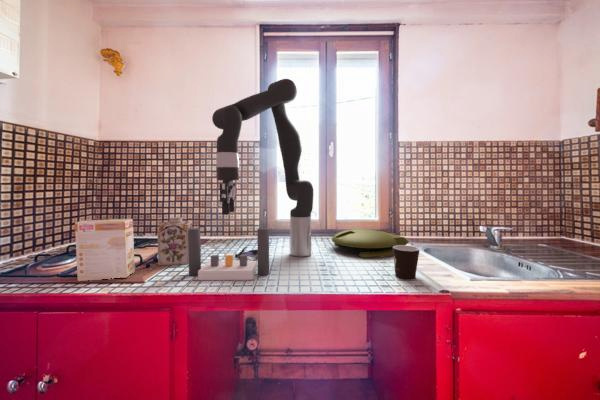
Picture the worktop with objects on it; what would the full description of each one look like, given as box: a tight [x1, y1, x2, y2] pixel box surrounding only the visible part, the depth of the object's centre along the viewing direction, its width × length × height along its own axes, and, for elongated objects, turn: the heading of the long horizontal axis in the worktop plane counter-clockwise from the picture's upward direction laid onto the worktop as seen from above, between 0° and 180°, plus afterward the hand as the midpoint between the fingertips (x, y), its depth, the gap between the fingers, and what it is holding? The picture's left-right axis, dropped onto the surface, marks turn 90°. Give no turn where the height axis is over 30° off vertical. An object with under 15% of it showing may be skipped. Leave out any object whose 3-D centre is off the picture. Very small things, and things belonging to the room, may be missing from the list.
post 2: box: [256, 227, 270, 277], centre depth 100 cm, size 4×4×16 cm
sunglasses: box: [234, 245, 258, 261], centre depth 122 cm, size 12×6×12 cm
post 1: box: [188, 227, 202, 277], centre depth 99 cm, size 4×4×16 cm
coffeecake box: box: [74, 218, 136, 282], centre depth 96 cm, size 15×7×20 cm, turn 100°
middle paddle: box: [224, 254, 234, 266], centre depth 100 cm, size 2×2×4 cm
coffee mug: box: [392, 244, 420, 281], centre depth 98 cm, size 12×9×10 cm
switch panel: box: [197, 254, 258, 281], centre depth 100 cm, size 18×12×7 cm, turn 92°
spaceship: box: [331, 228, 410, 259], centre depth 137 cm, size 35×31×10 cm
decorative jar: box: [156, 216, 195, 266], centre depth 116 cm, size 12×12×18 cm
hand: (228, 213), depth 99 cm, fingers open, 8 cm apart
